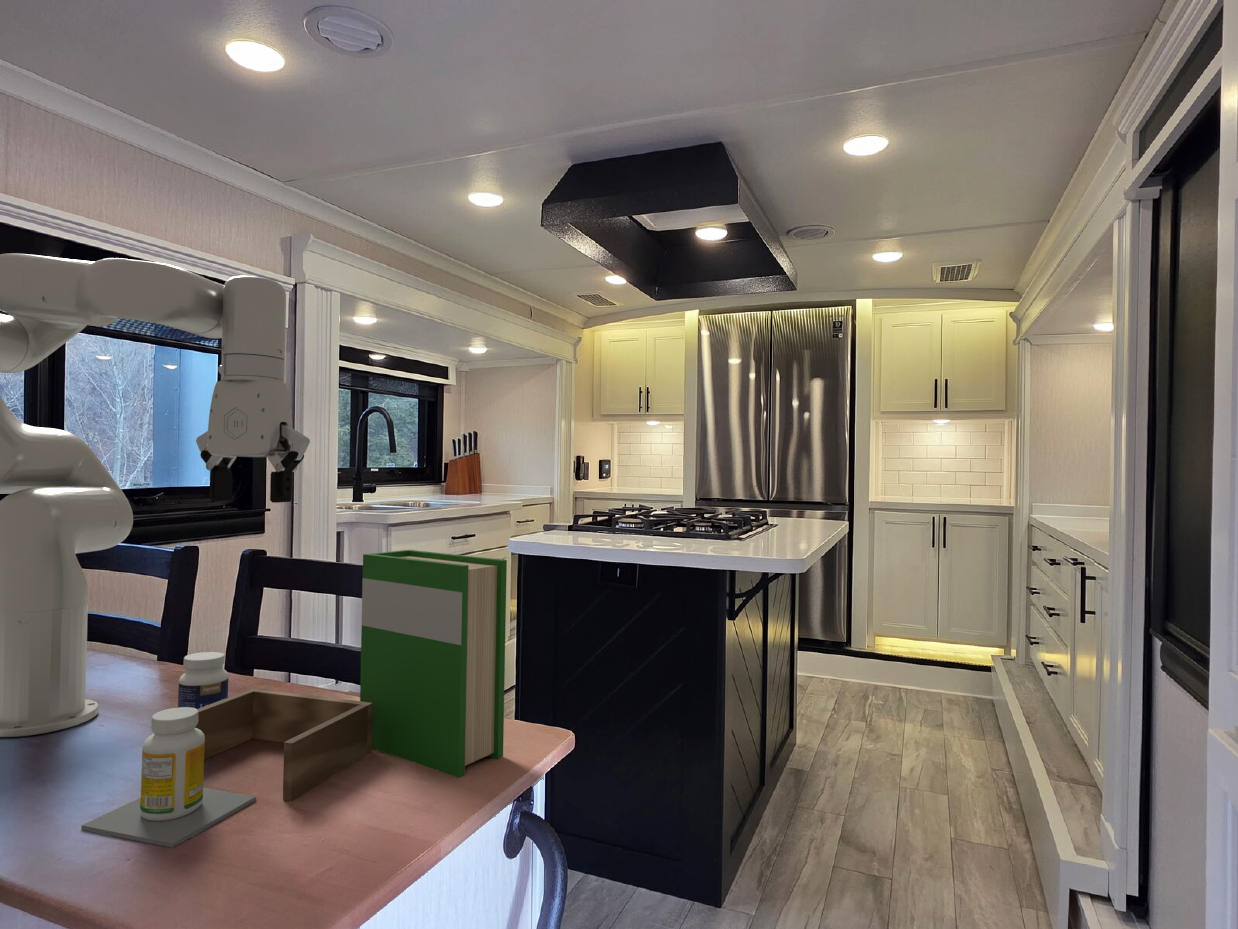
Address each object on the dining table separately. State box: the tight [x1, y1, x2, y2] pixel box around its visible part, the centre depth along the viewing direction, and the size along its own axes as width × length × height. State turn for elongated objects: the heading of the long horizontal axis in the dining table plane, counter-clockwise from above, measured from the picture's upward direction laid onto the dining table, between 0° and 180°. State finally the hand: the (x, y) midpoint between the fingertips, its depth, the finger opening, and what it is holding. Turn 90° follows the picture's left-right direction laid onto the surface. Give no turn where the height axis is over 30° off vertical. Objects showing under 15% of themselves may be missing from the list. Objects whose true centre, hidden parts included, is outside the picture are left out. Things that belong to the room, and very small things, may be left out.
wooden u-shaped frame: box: [195, 688, 373, 802], centre depth 84 cm, size 18×14×6 cm
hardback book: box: [359, 549, 508, 778], centre depth 90 cm, size 18×7×24 cm, turn 57°
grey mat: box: [80, 787, 257, 849], centre depth 72 cm, size 11×10×1 cm
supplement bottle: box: [140, 707, 205, 821], centre depth 72 cm, size 5×5×10 cm
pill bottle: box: [177, 651, 229, 709], centre depth 95 cm, size 6×6×10 cm
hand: (250, 501), depth 95 cm, fingers open, 9 cm apart
